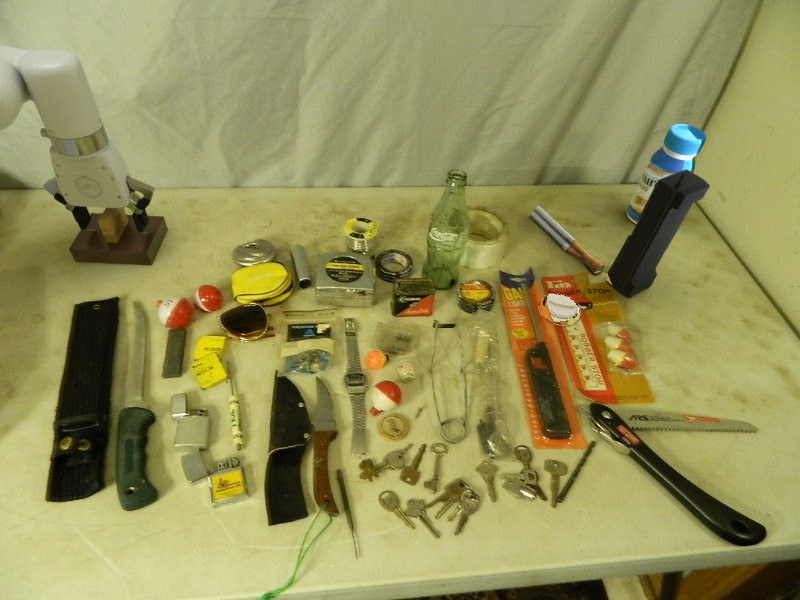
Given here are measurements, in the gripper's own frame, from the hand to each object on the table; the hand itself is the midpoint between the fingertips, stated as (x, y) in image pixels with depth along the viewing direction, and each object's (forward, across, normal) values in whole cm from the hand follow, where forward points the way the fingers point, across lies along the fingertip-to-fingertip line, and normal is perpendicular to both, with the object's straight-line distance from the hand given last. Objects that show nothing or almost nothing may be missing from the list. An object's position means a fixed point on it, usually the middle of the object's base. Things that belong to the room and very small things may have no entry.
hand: (115, 226), depth 93 cm
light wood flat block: (+1, 0, 0) cm, 1 cm away
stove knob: (+4, +78, -12) cm, 79 cm away
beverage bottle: (+4, +103, +16) cm, 104 cm away
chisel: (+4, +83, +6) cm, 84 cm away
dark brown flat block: (+4, 0, 0) cm, 4 cm away
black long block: (+4, +93, -4) cm, 93 cm away
